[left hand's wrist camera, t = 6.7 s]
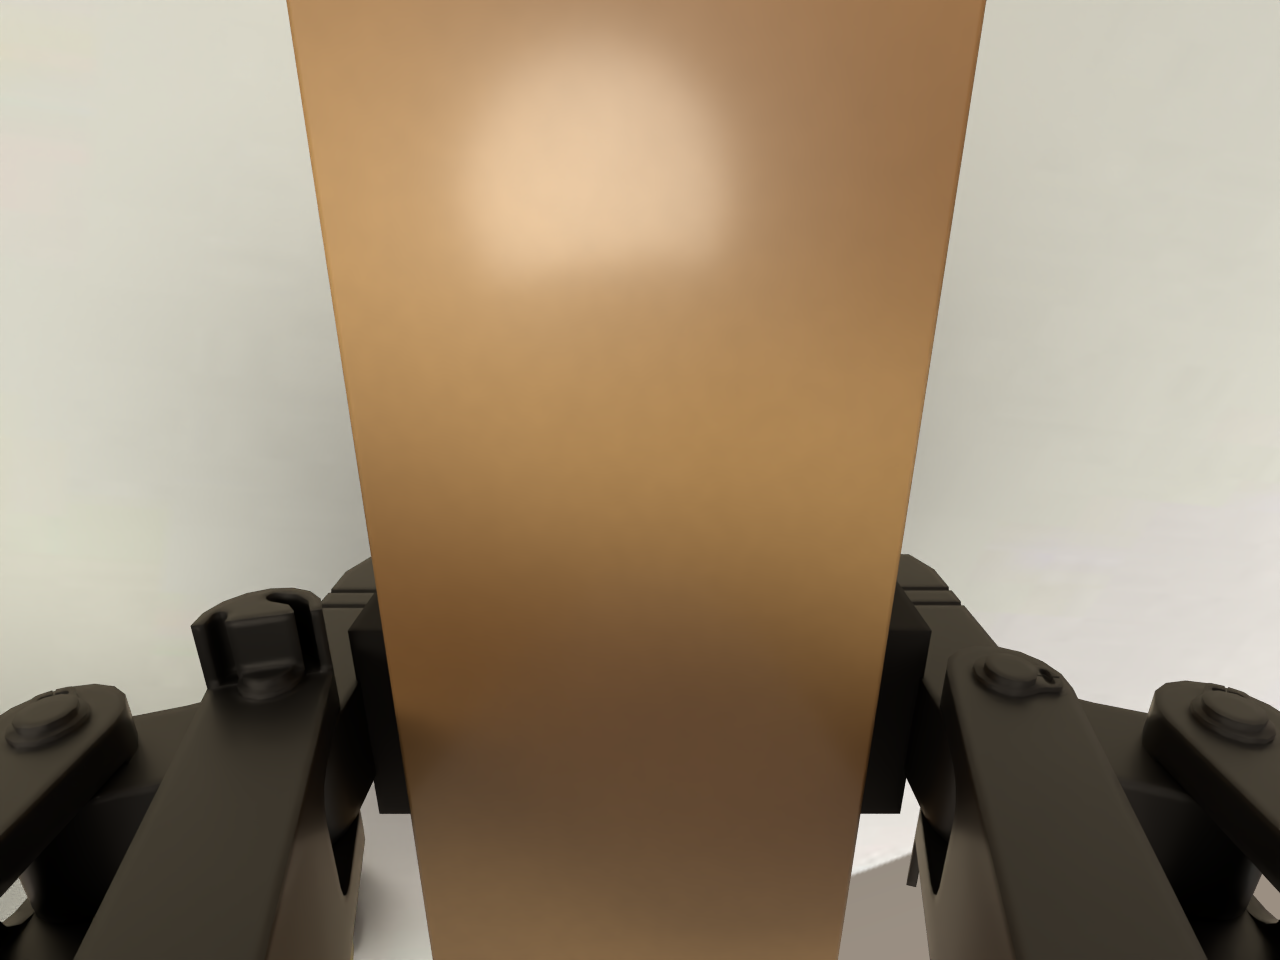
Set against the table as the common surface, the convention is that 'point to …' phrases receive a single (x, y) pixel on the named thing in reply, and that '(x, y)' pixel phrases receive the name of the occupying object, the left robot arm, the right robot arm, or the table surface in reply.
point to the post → (635, 437)
